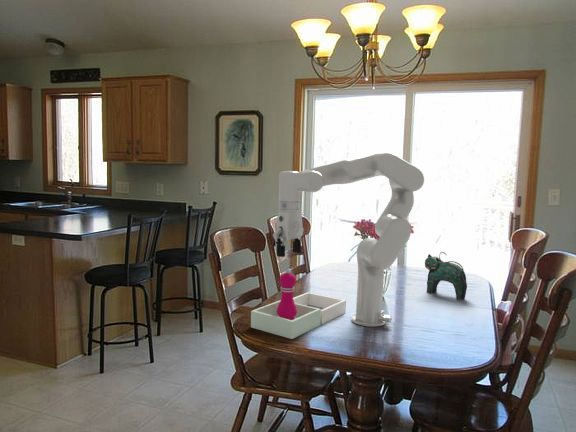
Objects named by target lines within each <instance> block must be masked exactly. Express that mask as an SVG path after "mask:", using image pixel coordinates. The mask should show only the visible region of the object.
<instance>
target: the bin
mask: <svg viewBox="0 0 576 432" xmlns="http://www.w3.org/2000/svg"><path fill="white" fill-rule="evenodd" d="M280 301H281V299H279V300H277V301H274V302H272V303H269V304H266V305H264V306H261V307H258V308H255V309H253V310H251V311H250V328H253V329H254V330H255V329H256V330H260V331H262V332H266V333H269V334H273V335H276V336H281V337H284V338H287V339H291V340H293V339H295V338H297V337H299V336H301V335H304V334H305V333H308V332H309V331H312V330H313V329H315V328H317V327H320V326H321V324H320V323H321V310H322V308H319V307H315V306H311V305H307V306H306V305H301V304H297V303H295V305H296V309H297V314H296V316H295V317H294V318H295V319H294V320H288V319H285V318H281V317H279V316H278V314H277V308H278V305H279V303H280Z"/></svg>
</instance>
